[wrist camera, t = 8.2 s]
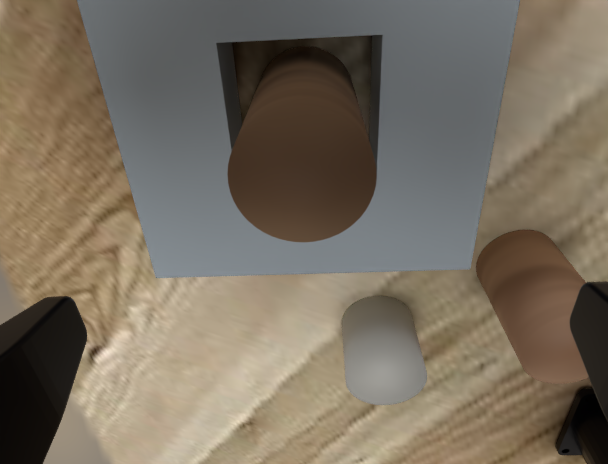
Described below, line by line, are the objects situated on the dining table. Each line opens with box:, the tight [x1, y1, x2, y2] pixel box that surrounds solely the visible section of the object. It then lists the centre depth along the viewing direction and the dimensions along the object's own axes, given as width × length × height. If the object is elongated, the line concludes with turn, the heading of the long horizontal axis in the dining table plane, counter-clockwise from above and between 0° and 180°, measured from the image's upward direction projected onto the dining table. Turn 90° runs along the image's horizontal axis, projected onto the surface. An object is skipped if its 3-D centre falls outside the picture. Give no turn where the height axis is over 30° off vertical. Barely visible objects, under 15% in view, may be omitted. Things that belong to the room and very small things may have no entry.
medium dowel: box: [476, 230, 589, 384], centre depth 21 cm, size 4×4×6 cm
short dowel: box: [342, 296, 427, 405], centre depth 24 cm, size 4×4×4 cm
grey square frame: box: [77, 0, 520, 278], centre depth 18 cm, size 14×14×3 cm
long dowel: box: [227, 46, 377, 242], centre depth 15 cm, size 4×4×8 cm
